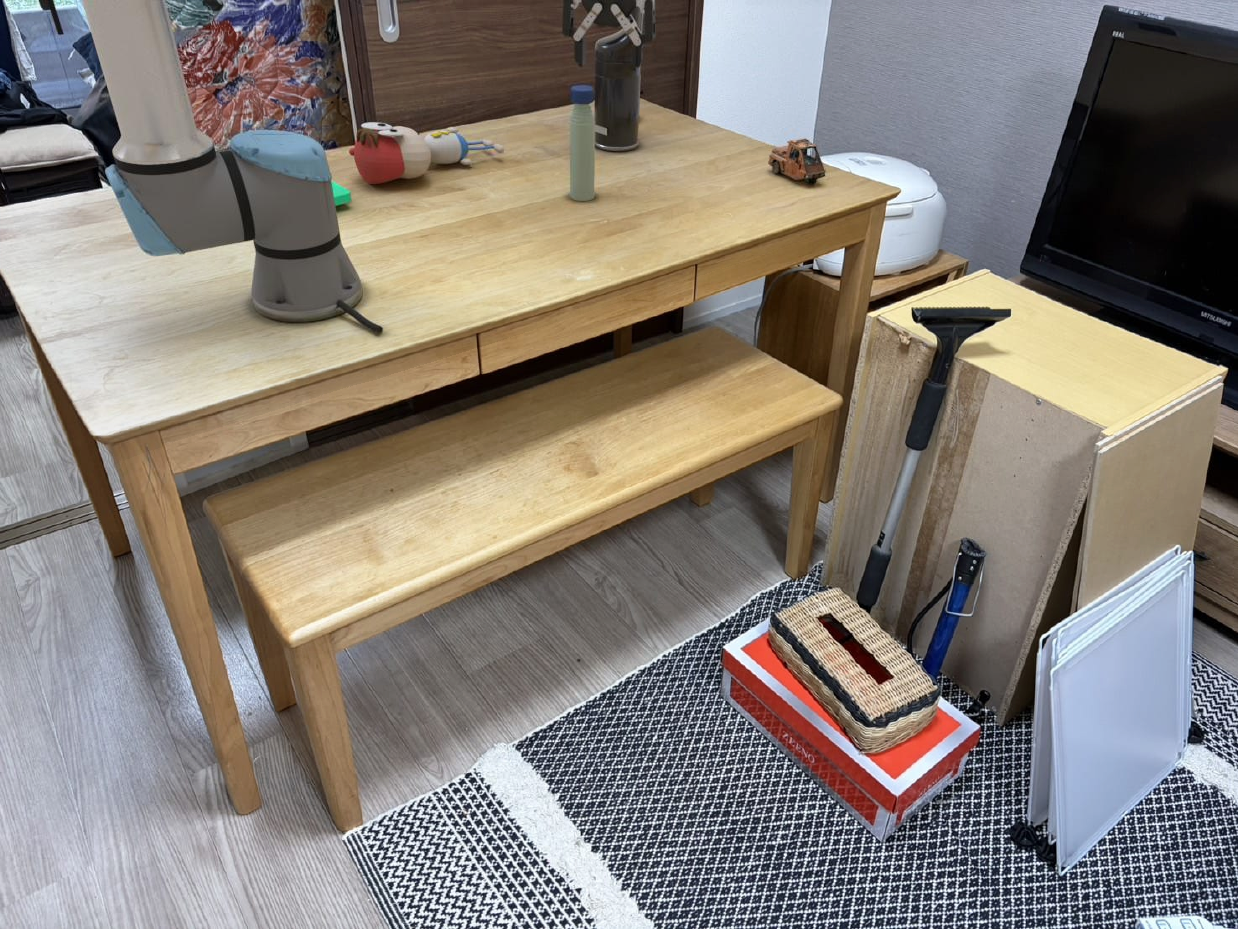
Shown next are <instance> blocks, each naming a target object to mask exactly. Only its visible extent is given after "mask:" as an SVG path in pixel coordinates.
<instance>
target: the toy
mask: <svg viewBox="0 0 1238 929" xmlns="http://www.w3.org/2000/svg"><path fill="white" fill-rule="evenodd" d="M360 127H361V128H359V129H358V130H357V131H356V136H355V138H356V140H355V143H354V147H351V148H350V149H349V150H348V153H349V155H350V156H353V159H354V163H355V166H356V168H357V171H358V173H359V175H360V176H361V178H362V180H363V181H364V182H365V183H367V184H370V185H377V184H383V183H388V182H391V181H394V180H398V179H400V178H401V179H406V180H410V179H416V178H419V177H421V176H422V175H424V174H425V173H426V172H427V170H428V169H429V168H430V164H431V163H435V164H439V165H449V164H454V163H457V162H460V164H462V165H463V166H465V165H466V166H467V165H468V166H469V165H471V164H472V163H473V161H472V159H470V158H466V157H467V156H468V153H469V151H483V150H484V151H485V150H492V149H493V150H494V151H495V152H497V153H498V154H503V153H505V147H504V146H503V145H502V144H499V143H493V141H492V140H490V139H485V138H484V139H482V140H480V141H473V142H472V141H469V142H468V141H467V140H466V139H465V137H463V135H461V134H459V133H458V132H459V129H458V128H457V127H455V126H450V127H447V128H444V129H441V130H437V131H433V132H429V133H427V134H426V135H425V136H422V135H421V133H420V132H419V131H418V130H416V129H413V128H410V127H407V126H406V125H403V126H401V125H396V126H392V125H390V124H388V123H384V122H377V121H376V122H373V121H371V122H364V123H362V124H361V125H360ZM476 145H477V146H478V145H483V146H478V147H477V146H476ZM469 146H470V147H469ZM471 146H472V147H471ZM473 146H474V147H473ZM475 146H476V147H475Z"/></svg>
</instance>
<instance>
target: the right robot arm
mask: <svg viewBox="0 0 1238 929" xmlns="http://www.w3.org/2000/svg"><path fill="white" fill-rule="evenodd" d="M580 3H581V4H582V6H583V8H584V9H585V11H586V13H587V15H586V16H585V18H584V19H583V21H582V22H581V24H580V25H579V26H578V28H577V27H575V10H576V9H577V8H578V7H579V4H580ZM643 19H644V20H643ZM643 21H644V32H643ZM594 24H595V25H596V26H597V27H599V28H603V27H610V28H611V29H612V28H613V29H618V28H620V27H622V29H620V30H619V31H617V32H615V33H612V34H610V35H607V36H604V37H601V38H600V39H598V40H597V41H596V42H595V45H594V101H593V103H594V105H593V106H594V111H593V116H594V120H595V148H598V149H600V150H604V151H609V152H626V151H631V150H634V149H637V148H638V147H639V129H640V128H639V127H640V104H641V103H640V102H641V100H640V99H641V95H644V94H645V93H644V92H645V91H644V90H643V89H642V88H641V78H642V77H641V75H642V74H641V73H642V71H641V70H642V64H643V62H644V61H643V58H644V44H647V43H651V42H652V41H653V40H654V39H655V38H656V32H657V31H656V0H563V2H562V24H561V25H562V26H561V34H562V35H563V36H564V37H569V38H571V39H572V40H573V42H574V43H573V44H574V62H575V63H577V65H578V67H580V68H584V67H585V66H586V64H587V39H586V38H585V35H586V34H587V33H588V31H589V30H590V29H591V27H593V25H594Z"/></svg>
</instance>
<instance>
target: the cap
mask: <svg viewBox="0 0 1238 929" xmlns="http://www.w3.org/2000/svg"><path fill="white" fill-rule="evenodd" d="M570 102H571V103H572V104H574V105H575V104H590V105H591V104H592V103H594V102H595V90H594V87H593V86H591V85H586V84H578V85H572V86H571V87H570Z"/></svg>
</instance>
